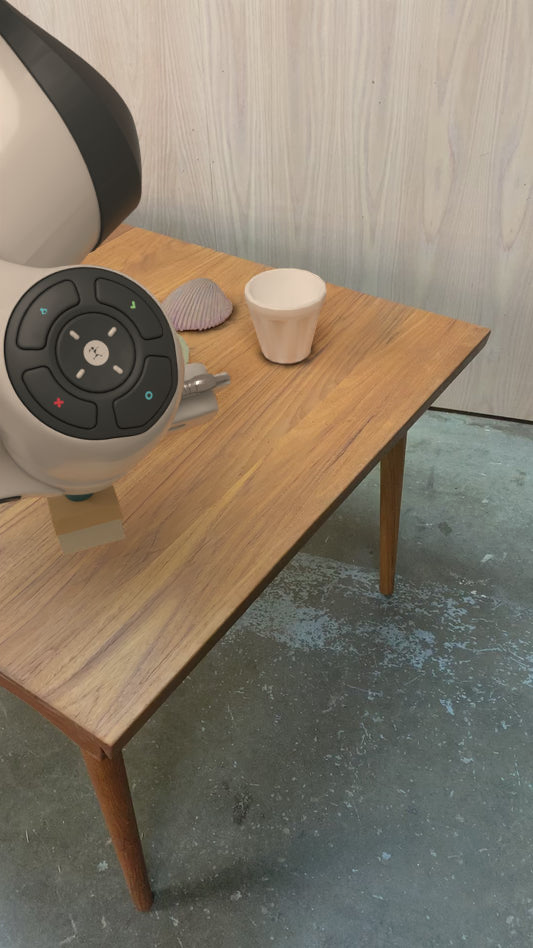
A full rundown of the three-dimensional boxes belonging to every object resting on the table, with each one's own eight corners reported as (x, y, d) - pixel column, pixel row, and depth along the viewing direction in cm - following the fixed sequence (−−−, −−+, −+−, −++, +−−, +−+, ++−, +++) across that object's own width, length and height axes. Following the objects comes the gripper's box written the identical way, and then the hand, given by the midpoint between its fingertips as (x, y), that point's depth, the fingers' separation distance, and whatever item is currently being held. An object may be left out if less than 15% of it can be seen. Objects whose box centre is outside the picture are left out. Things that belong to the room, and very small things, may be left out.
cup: (277, 323, 105) (275, 260, 99) (340, 345, 101) (342, 280, 94) (232, 358, 99) (227, 293, 93) (297, 384, 95) (296, 317, 89)
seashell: (245, 279, 108) (214, 299, 100) (243, 316, 111) (212, 339, 103) (179, 266, 111) (144, 285, 103) (178, 303, 114) (144, 324, 106)
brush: (62, 557, 62) (20, 417, 52) (52, 513, 65) (11, 376, 56) (127, 539, 63) (96, 399, 53) (113, 497, 66) (83, 360, 57)
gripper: (222, 324, 49) (182, 373, 62) (-120, 416, 43) (-83, 448, 56) (254, 419, 49) (208, 447, 62) (-84, 524, 43) (-56, 531, 56)
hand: (67, 448), depth 59 cm, fingers closed on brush, 2 cm apart
